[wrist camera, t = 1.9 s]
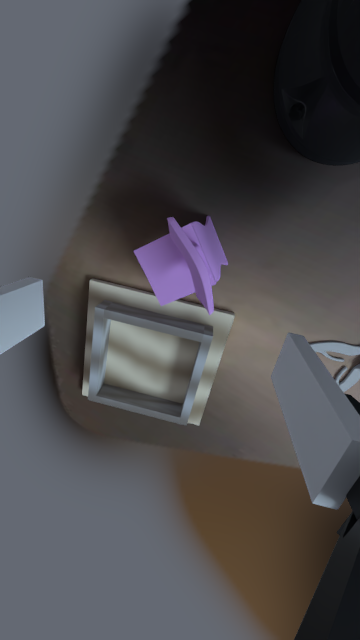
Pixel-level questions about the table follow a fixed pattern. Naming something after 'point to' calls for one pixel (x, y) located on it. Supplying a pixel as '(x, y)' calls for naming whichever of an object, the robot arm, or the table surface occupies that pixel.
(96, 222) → the table surface
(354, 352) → the pliers
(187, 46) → the table surface
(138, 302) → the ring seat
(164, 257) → the toy chair
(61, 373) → the table surface
